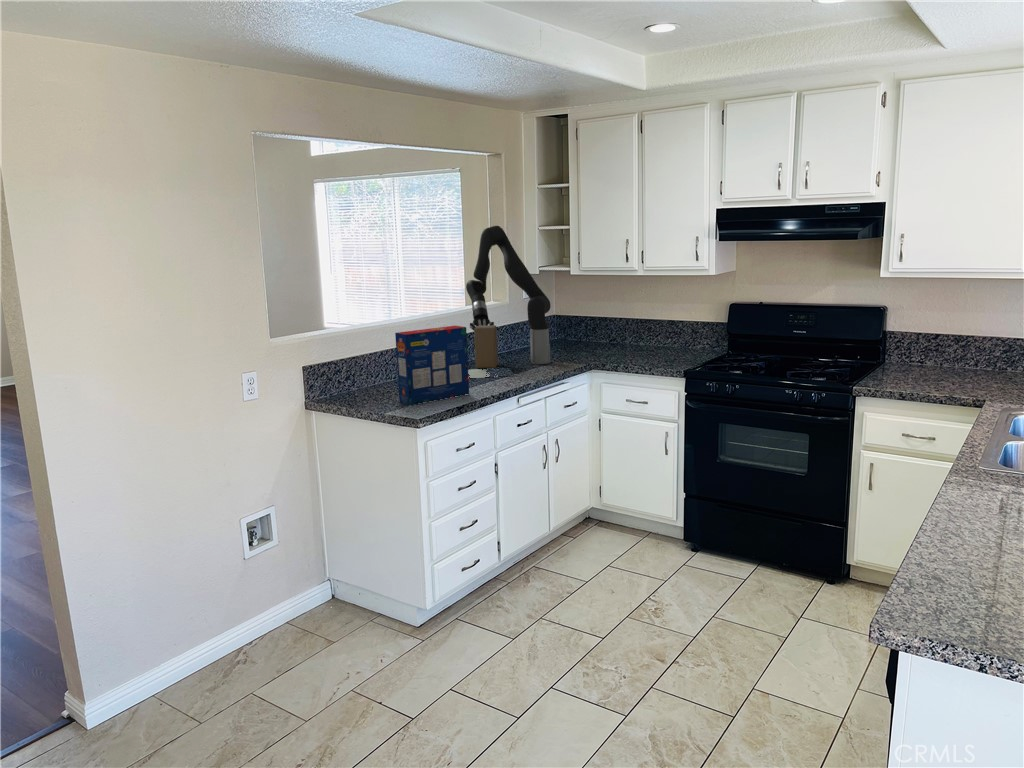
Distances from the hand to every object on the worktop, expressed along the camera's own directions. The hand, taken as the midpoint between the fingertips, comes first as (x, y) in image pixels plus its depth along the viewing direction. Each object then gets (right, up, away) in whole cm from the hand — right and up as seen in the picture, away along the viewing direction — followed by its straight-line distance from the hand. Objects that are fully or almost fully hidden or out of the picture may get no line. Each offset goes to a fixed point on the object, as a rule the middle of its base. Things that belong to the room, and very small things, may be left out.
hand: (483, 338), depth 384 cm
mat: (+4, -18, -23) cm, 29 cm away
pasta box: (-17, -29, -73) cm, 80 cm away
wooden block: (+2, -15, -6) cm, 16 cm away
